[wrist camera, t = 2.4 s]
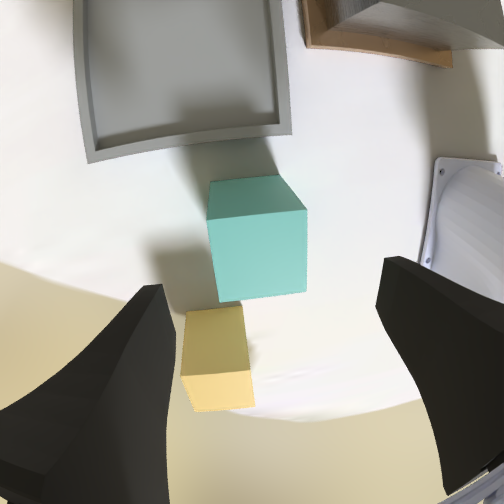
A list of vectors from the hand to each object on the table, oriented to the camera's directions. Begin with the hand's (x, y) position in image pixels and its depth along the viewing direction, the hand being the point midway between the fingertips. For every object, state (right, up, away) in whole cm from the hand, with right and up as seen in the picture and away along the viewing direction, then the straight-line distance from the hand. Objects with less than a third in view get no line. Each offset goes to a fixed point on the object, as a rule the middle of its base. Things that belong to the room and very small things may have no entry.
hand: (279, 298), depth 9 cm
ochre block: (-3, -4, +13) cm, 14 cm away
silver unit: (+7, +16, +3) cm, 18 cm away
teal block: (-1, +4, +9) cm, 10 cm away
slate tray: (-5, +12, +4) cm, 14 cm away
